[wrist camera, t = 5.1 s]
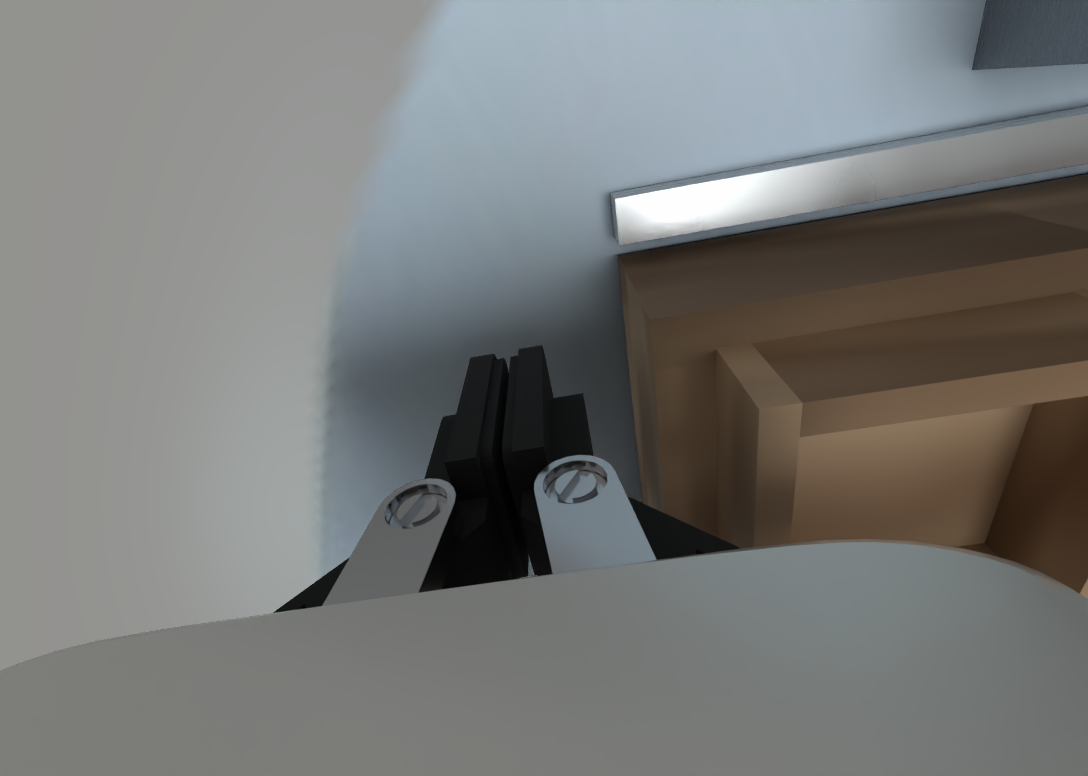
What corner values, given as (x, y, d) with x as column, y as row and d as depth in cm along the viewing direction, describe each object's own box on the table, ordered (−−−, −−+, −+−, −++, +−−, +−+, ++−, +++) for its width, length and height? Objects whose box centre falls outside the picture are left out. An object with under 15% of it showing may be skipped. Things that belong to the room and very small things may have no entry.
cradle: (1223, 498, 16) (1547, 687, 11) (649, 572, 18) (697, 773, 12) (1470, 108, 11) (2324, 119, 6) (617, 255, 12) (678, 375, 7)
